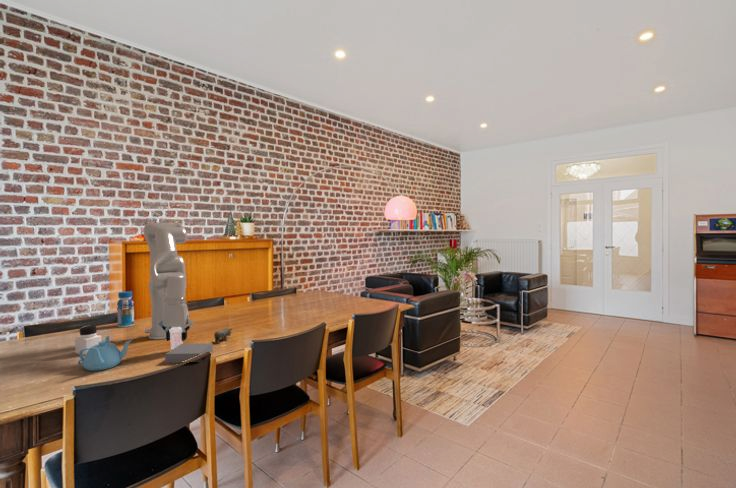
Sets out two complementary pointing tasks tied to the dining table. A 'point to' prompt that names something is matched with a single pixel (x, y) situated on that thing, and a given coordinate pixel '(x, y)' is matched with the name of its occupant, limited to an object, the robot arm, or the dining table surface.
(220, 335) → the rhino figurine
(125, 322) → the beverage bottle
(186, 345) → the plinth
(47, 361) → the dining table surface
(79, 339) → the medicine bottle
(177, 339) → the beverage cup
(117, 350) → the teapot
